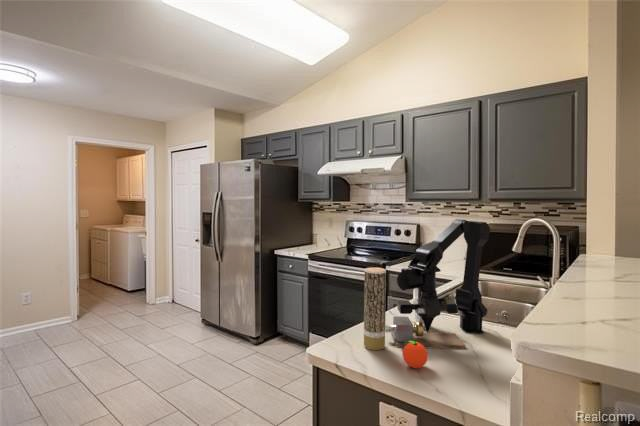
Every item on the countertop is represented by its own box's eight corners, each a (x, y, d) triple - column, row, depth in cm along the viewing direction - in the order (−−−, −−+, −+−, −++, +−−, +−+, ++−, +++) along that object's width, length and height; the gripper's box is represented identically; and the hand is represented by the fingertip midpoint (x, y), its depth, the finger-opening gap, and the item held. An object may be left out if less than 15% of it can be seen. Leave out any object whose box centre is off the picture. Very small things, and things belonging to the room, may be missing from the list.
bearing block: (407, 333, 120) (407, 316, 120) (412, 342, 112) (413, 325, 112) (393, 332, 121) (393, 316, 120) (397, 342, 113) (397, 324, 112)
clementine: (394, 362, 101) (395, 338, 101) (412, 357, 104) (412, 334, 104) (414, 375, 94) (415, 349, 94) (432, 369, 97) (433, 344, 97)
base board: (454, 335, 121) (454, 333, 121) (465, 348, 111) (465, 345, 111) (391, 334, 122) (391, 331, 122) (396, 346, 112) (396, 343, 112)
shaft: (420, 333, 119) (420, 320, 118) (423, 338, 114) (423, 325, 114) (384, 332, 119) (384, 319, 119) (386, 338, 114) (386, 324, 114)
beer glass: (433, 330, 126) (433, 289, 125) (413, 328, 127) (414, 288, 127) (430, 323, 133) (431, 284, 132) (412, 321, 134) (412, 283, 133)
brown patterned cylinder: (389, 346, 112) (390, 269, 111) (377, 353, 107) (378, 273, 106) (371, 340, 117) (372, 266, 116) (359, 346, 112) (360, 269, 111)
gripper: (403, 293, 108) (404, 342, 108) (464, 292, 107) (464, 341, 108) (396, 284, 119) (397, 328, 119) (452, 283, 118) (452, 328, 119)
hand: (427, 332), depth 116 cm, fingers closed
